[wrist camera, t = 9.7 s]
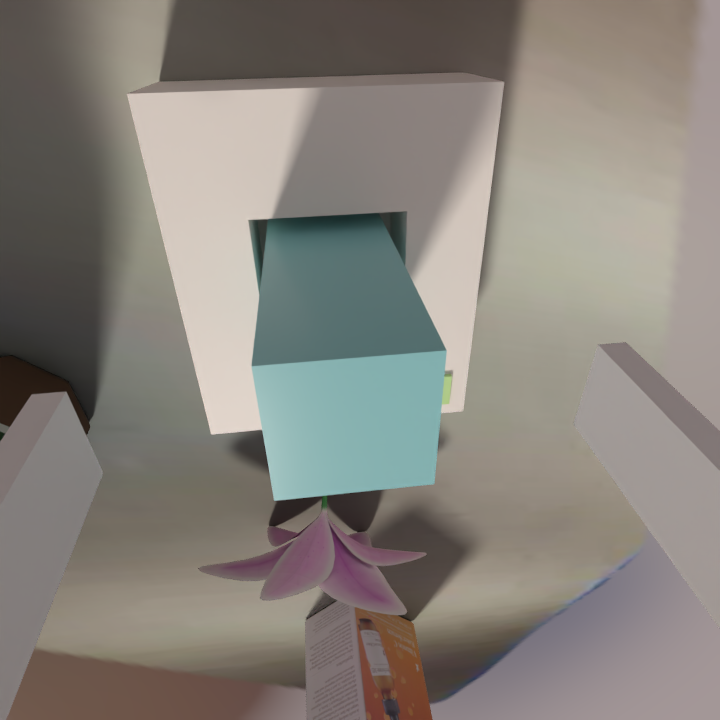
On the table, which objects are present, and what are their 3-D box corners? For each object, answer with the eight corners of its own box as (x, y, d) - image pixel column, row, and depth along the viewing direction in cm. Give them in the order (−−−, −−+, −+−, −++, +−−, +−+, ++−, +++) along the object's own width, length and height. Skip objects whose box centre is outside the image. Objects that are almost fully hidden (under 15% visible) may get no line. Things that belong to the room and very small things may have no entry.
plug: (269, 208, 21) (251, 366, 11) (373, 202, 21) (446, 350, 12) (280, 303, 24) (274, 501, 14) (374, 296, 24) (434, 484, 14)
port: (158, 81, 19) (125, 94, 15) (464, 72, 20) (506, 81, 16) (222, 378, 27) (210, 437, 23) (439, 360, 28) (464, 413, 24)
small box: (414, 621, 43) (446, 771, 34) (366, 648, 45) (384, 798, 36) (352, 587, 39) (370, 747, 30) (302, 619, 41) (305, 779, 32)
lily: (186, 474, 32) (182, 645, 28) (280, 409, 24) (295, 634, 20) (336, 481, 39) (351, 617, 35) (445, 433, 31) (482, 600, 27)
